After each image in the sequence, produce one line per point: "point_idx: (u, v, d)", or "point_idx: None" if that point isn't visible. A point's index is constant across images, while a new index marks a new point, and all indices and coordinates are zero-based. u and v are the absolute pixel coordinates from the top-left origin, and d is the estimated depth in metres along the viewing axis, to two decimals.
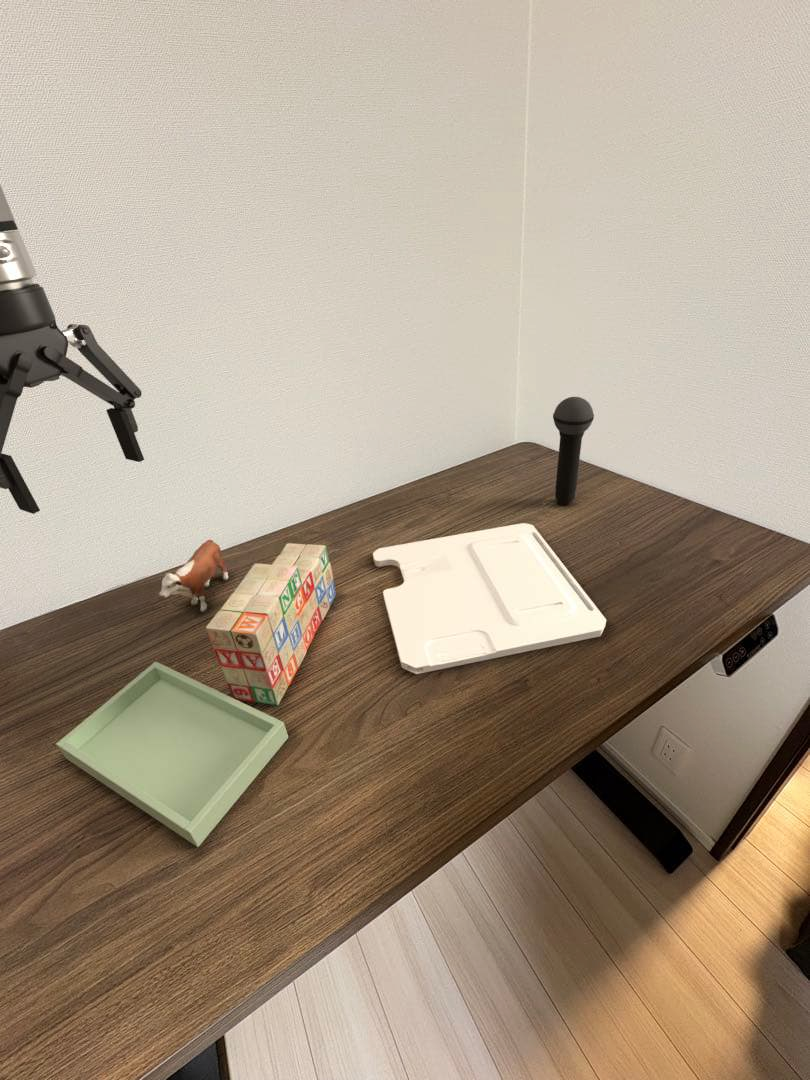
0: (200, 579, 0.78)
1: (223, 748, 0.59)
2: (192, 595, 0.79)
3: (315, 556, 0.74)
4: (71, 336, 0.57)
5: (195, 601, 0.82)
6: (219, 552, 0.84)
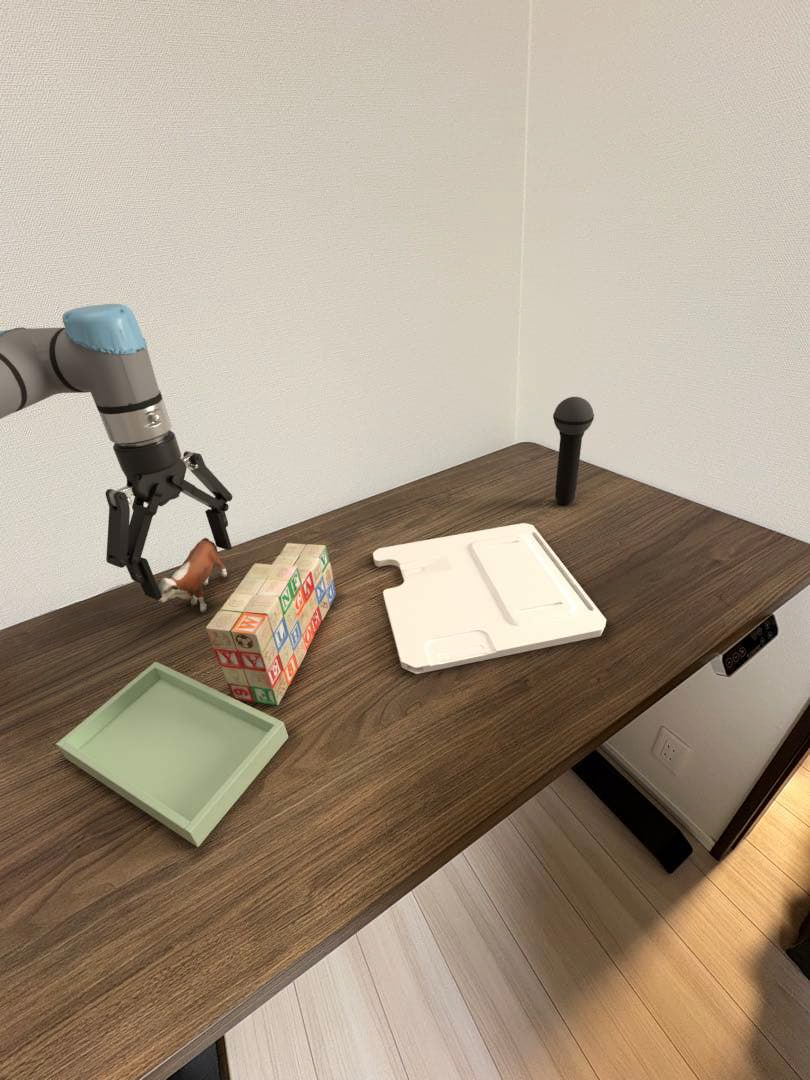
0: (197, 581, 0.78)
1: (223, 748, 0.59)
2: (190, 596, 0.79)
3: (315, 556, 0.74)
4: (188, 462, 0.74)
5: (195, 601, 0.82)
6: (215, 550, 0.83)
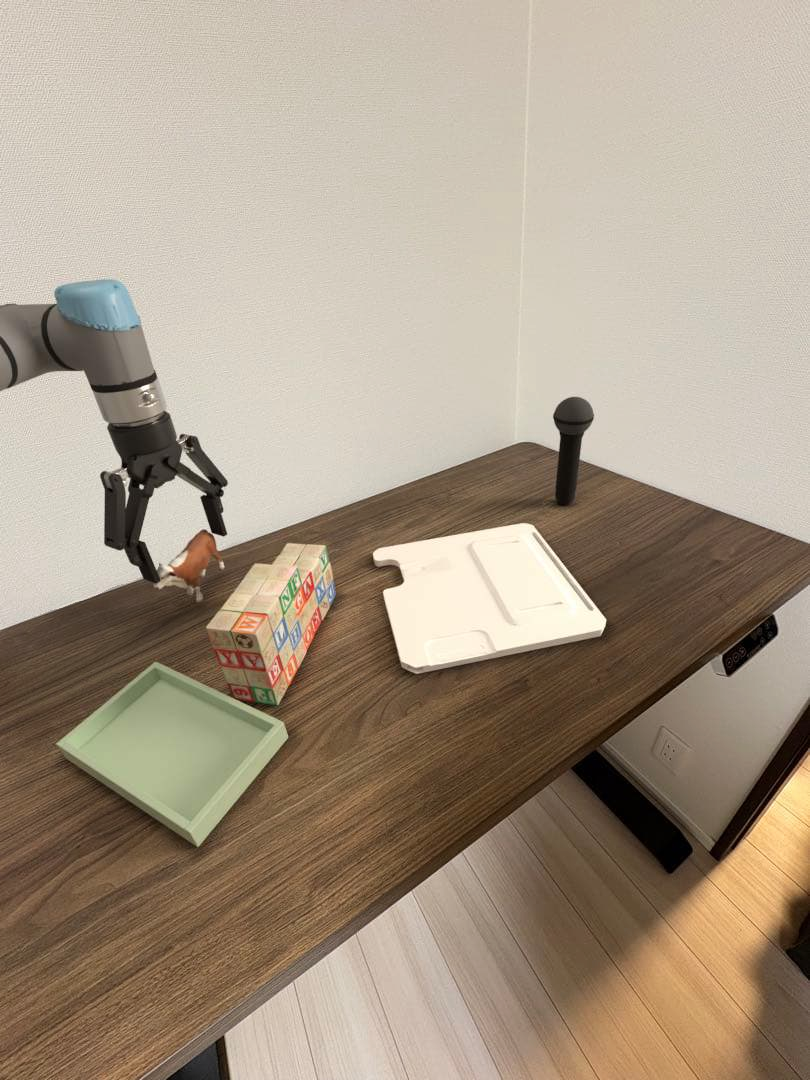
0: (195, 570, 0.77)
1: (223, 748, 0.59)
2: (187, 586, 0.78)
3: (315, 556, 0.74)
4: (183, 445, 0.73)
5: (191, 592, 0.81)
6: (213, 542, 0.83)
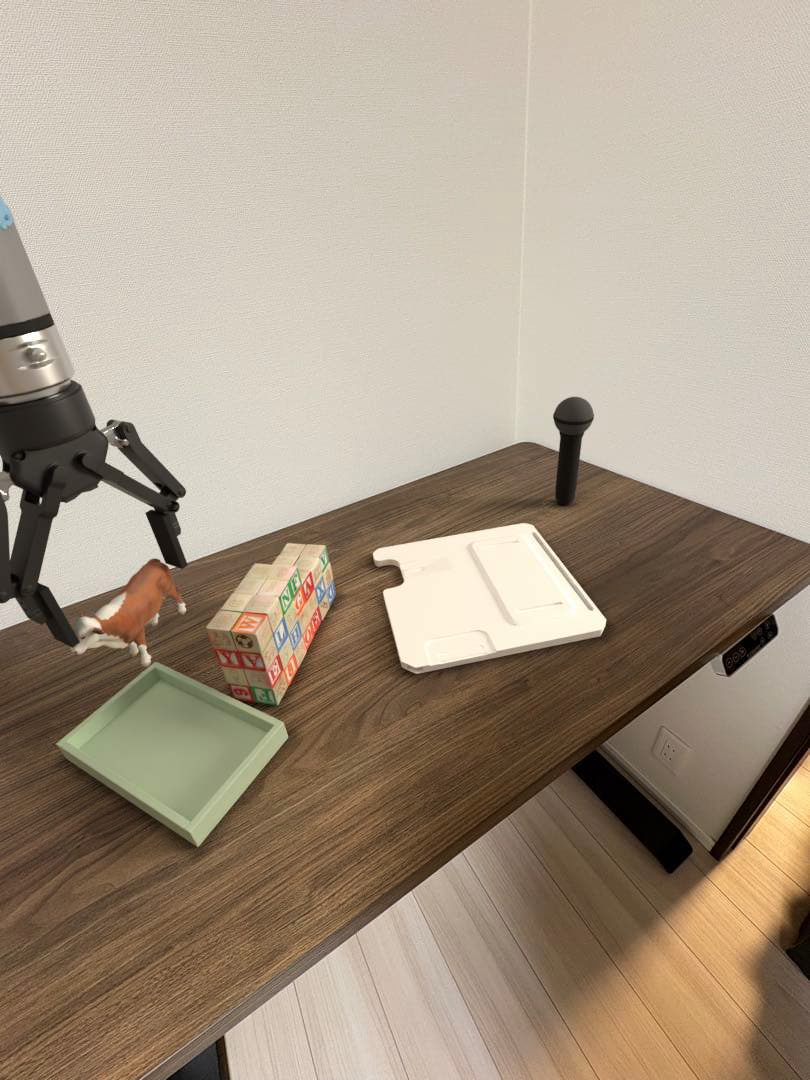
0: (136, 621, 0.52)
1: (223, 748, 0.59)
2: (126, 644, 0.53)
3: (315, 556, 0.74)
4: (112, 436, 0.48)
5: (135, 651, 0.56)
6: (168, 576, 0.58)
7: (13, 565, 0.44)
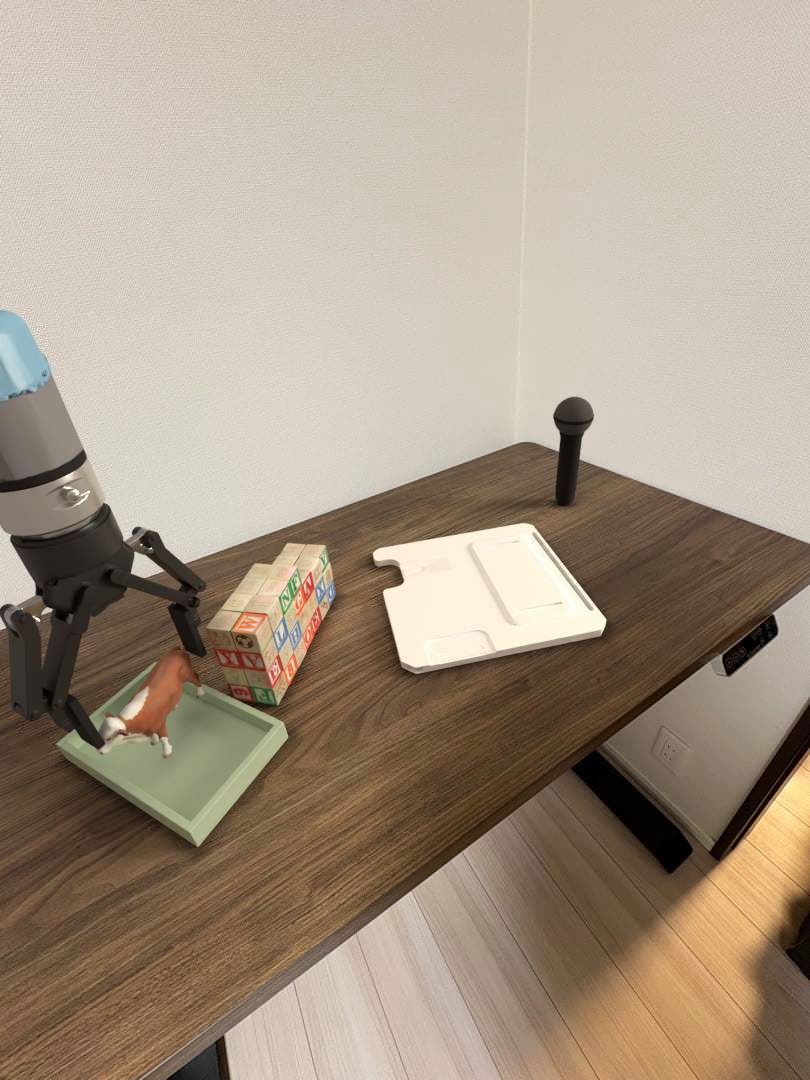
0: (158, 717, 0.54)
1: (223, 748, 0.59)
2: (148, 738, 0.55)
3: (315, 556, 0.74)
4: (137, 545, 0.50)
5: (156, 740, 0.57)
6: (187, 665, 0.59)
7: (44, 679, 0.46)
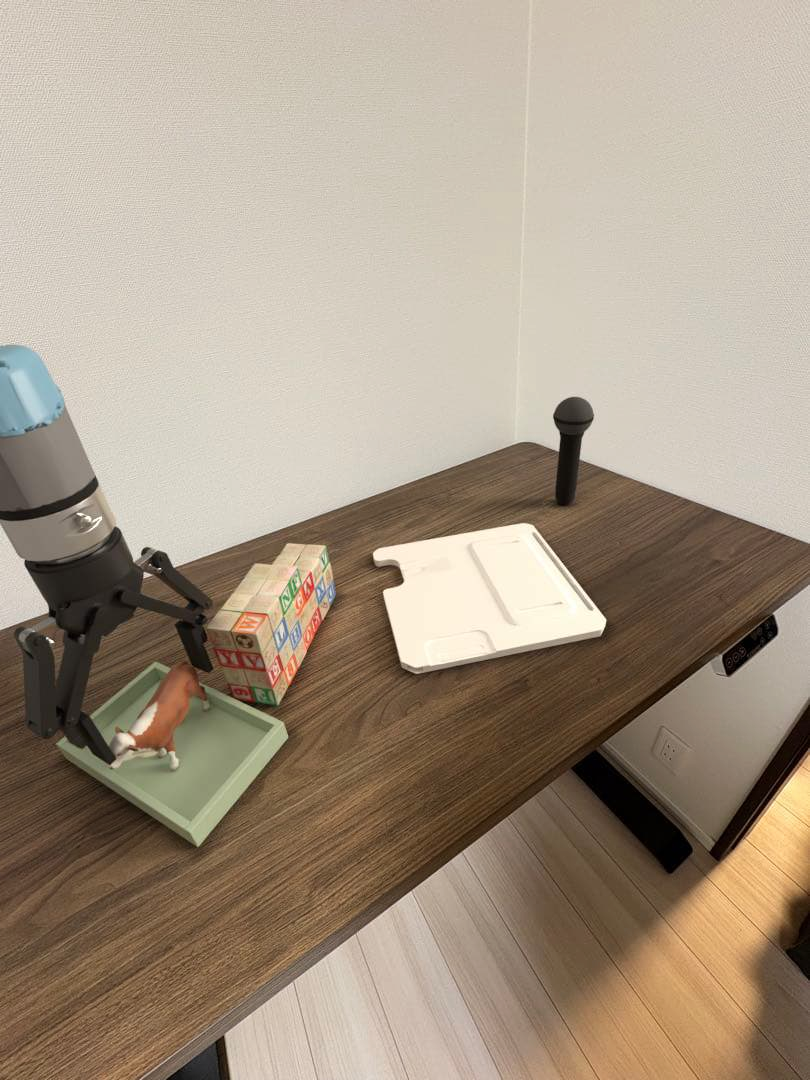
0: (167, 732, 0.55)
1: (223, 748, 0.59)
2: (157, 752, 0.56)
3: (315, 556, 0.74)
4: (146, 566, 0.51)
5: (164, 753, 0.59)
6: (194, 679, 0.60)
7: (57, 698, 0.47)
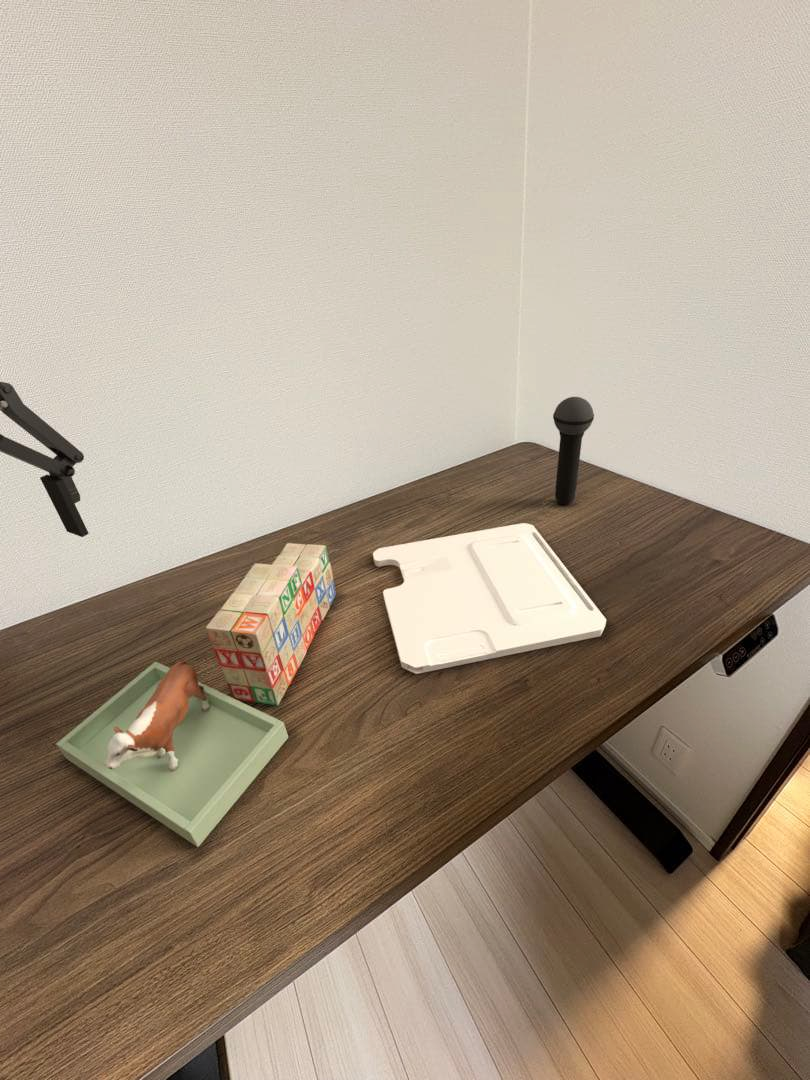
0: (166, 732, 0.55)
1: (223, 748, 0.59)
2: (156, 752, 0.56)
3: (315, 556, 0.74)
4: None
5: (163, 753, 0.59)
6: (193, 679, 0.61)
7: None
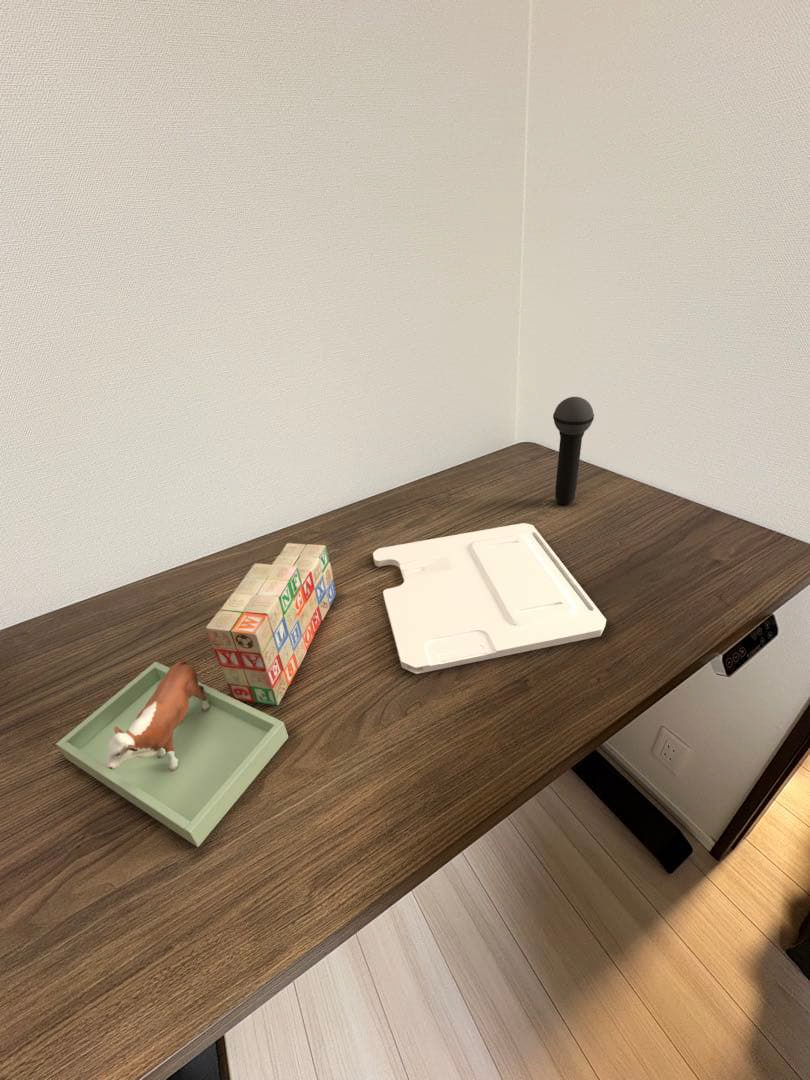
0: (166, 732, 0.55)
1: (223, 748, 0.59)
2: (156, 752, 0.56)
3: (315, 556, 0.74)
4: None
5: (163, 753, 0.59)
6: (193, 679, 0.61)
7: None
